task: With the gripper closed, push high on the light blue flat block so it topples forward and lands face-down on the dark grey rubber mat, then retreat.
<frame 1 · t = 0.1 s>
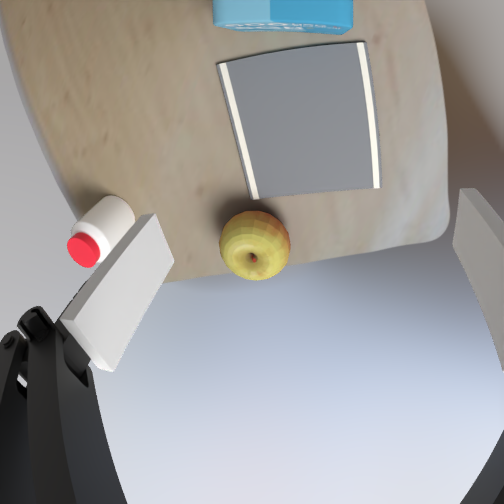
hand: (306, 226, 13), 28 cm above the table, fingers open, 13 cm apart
pill bottle: (116, 214, 50), on the table
mat: (305, 122, 36), on the table
light blue flat block: (290, 14, 28), on the table
apple: (260, 230, 47), on the table
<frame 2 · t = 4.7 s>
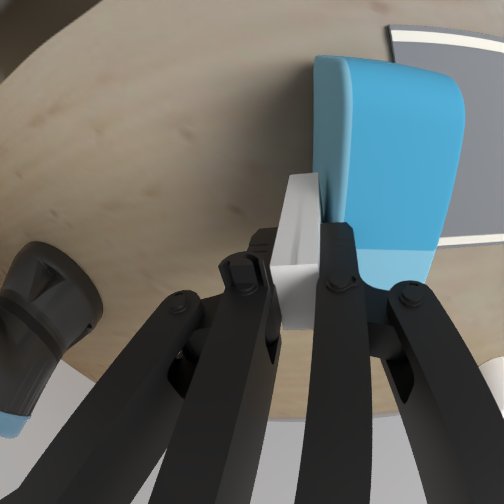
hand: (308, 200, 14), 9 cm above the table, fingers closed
pill bottle: (489, 370, 34), on the table
light blue flat block: (344, 138, 21), on the table, touching gripper
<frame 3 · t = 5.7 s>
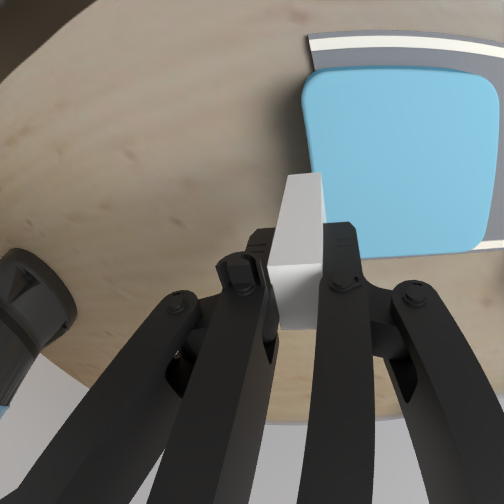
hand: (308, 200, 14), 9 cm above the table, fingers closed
mat: (450, 152, 19), on the table
light blue flat block: (309, 165, 19), point 3 cm above the table, touching mat
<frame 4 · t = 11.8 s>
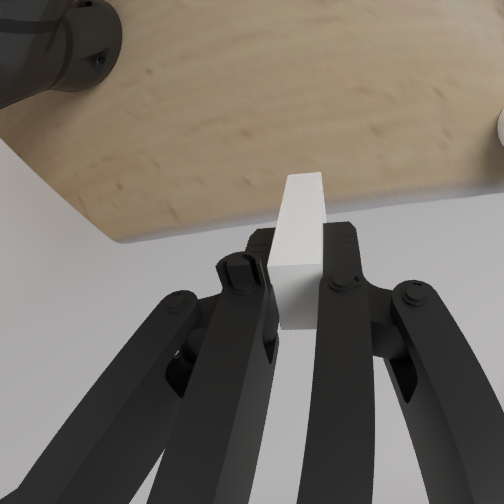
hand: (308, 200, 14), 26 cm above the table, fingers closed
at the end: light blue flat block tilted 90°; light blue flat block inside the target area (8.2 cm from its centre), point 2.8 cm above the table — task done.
